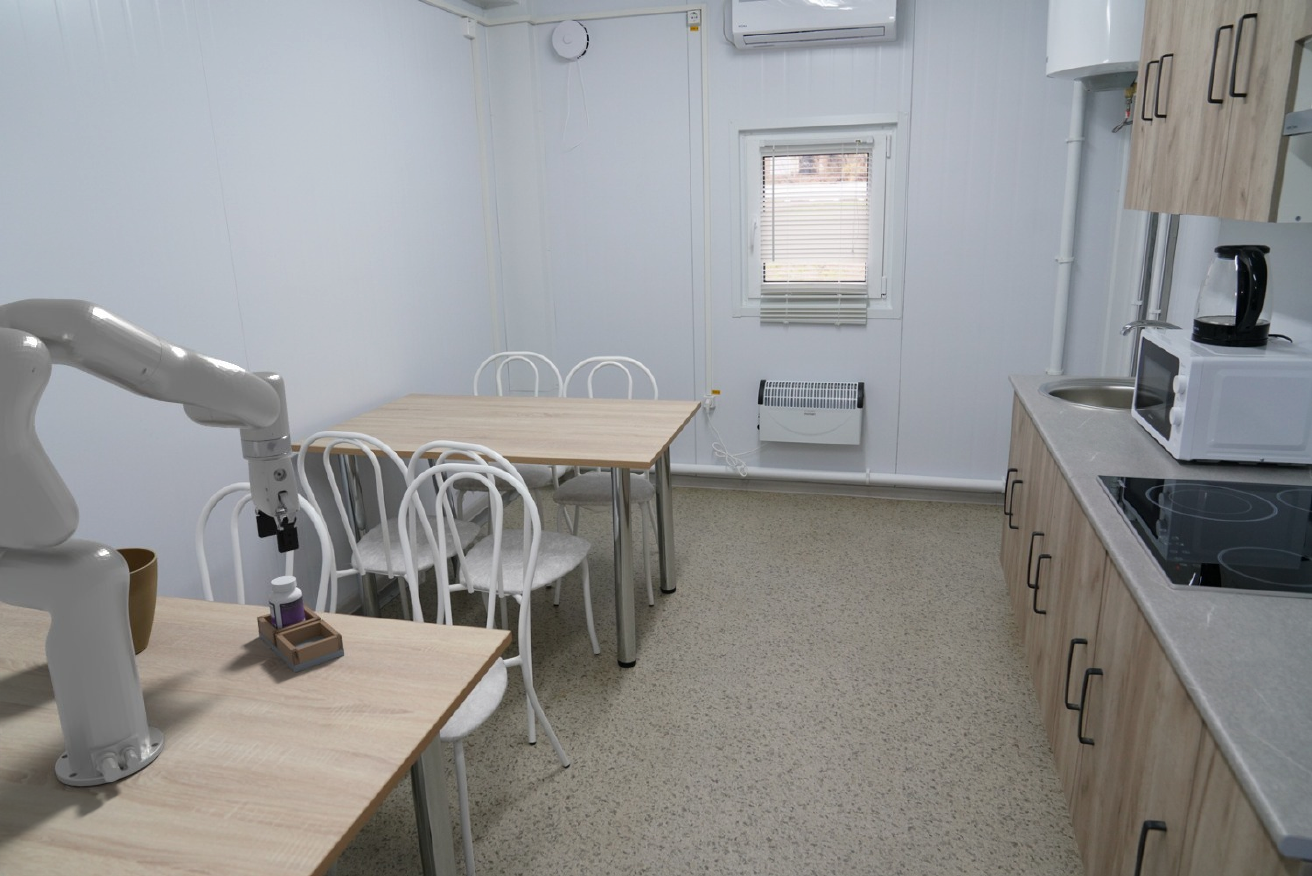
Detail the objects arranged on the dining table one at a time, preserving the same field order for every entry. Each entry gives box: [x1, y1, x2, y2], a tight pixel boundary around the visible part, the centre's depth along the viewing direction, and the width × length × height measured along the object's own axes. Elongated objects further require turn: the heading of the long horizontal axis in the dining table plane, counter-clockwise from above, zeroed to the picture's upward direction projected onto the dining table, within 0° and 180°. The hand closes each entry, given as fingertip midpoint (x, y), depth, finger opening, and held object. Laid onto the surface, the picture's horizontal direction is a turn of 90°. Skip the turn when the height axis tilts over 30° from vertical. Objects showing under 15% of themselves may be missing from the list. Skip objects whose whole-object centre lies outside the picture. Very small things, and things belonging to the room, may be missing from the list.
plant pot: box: [114, 547, 159, 655], centre depth 143 cm, size 15×15×16 cm
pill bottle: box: [268, 575, 305, 630], centre depth 147 cm, size 5×5×10 cm
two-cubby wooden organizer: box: [256, 603, 345, 673], centre depth 145 cm, size 17×8×4 cm, turn 43°
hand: (278, 543), depth 144 cm, fingers open, 9 cm apart
